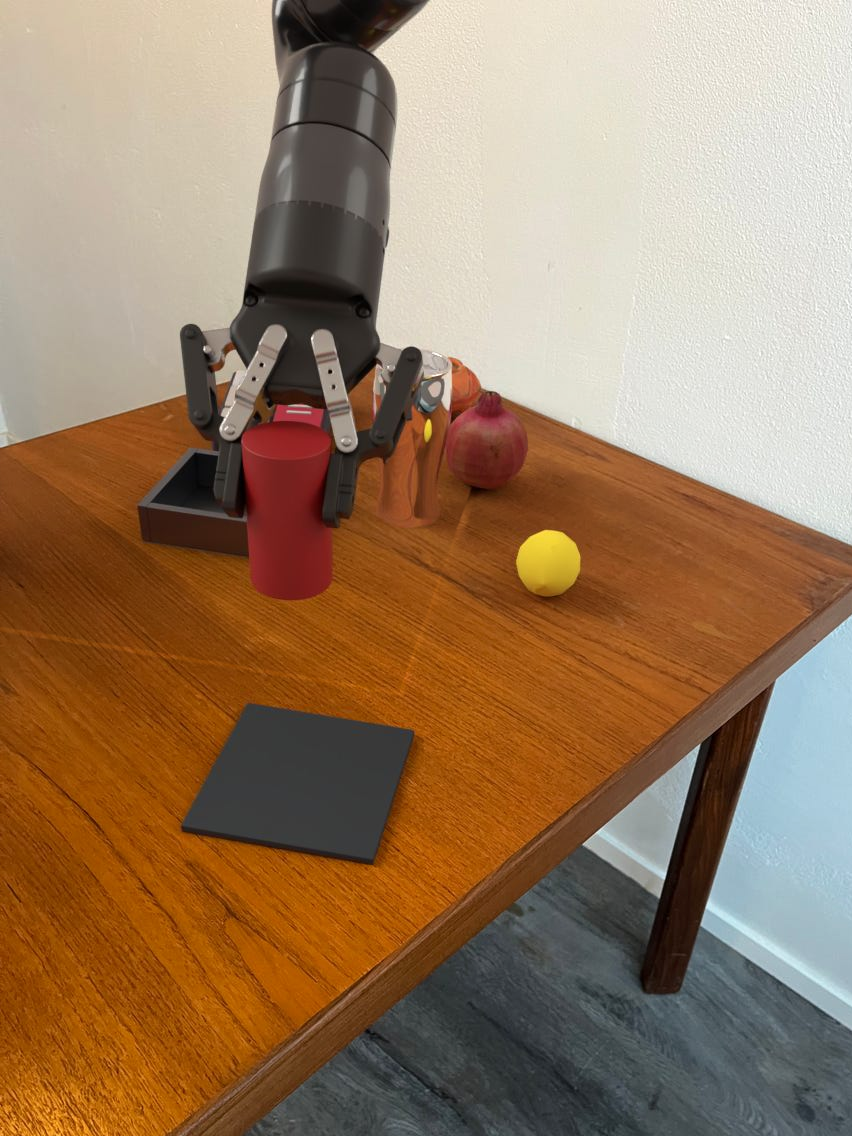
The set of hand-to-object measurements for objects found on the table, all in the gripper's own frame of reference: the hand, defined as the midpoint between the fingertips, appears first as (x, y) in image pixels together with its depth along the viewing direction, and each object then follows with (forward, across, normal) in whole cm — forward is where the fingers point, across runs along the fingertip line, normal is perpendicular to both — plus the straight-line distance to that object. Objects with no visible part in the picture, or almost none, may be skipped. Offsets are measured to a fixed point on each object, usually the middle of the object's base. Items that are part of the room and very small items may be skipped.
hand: (282, 518), depth 55 cm
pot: (-28, +4, +55) cm, 62 cm away
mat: (+14, +1, +13) cm, 19 cm away
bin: (-8, -12, +35) cm, 38 cm away
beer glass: (-11, +3, +38) cm, 40 cm away
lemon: (-4, +16, +31) cm, 35 cm away
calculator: (-21, -12, +49) cm, 55 cm away
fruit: (-16, +10, +44) cm, 48 cm away
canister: (+2, 0, +5) cm, 5 cm away
